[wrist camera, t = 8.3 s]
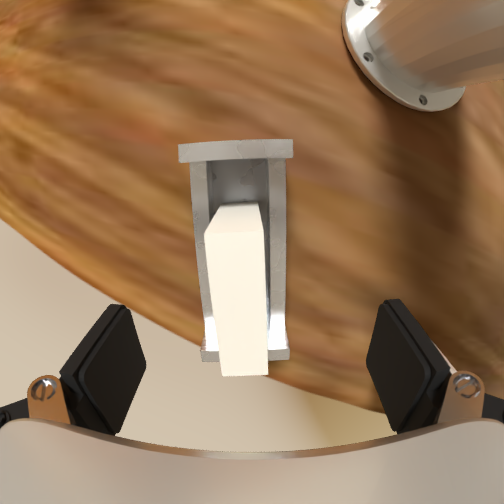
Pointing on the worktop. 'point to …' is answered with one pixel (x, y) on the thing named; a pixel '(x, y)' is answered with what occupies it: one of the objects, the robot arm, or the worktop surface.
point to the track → (235, 191)
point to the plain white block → (238, 288)
